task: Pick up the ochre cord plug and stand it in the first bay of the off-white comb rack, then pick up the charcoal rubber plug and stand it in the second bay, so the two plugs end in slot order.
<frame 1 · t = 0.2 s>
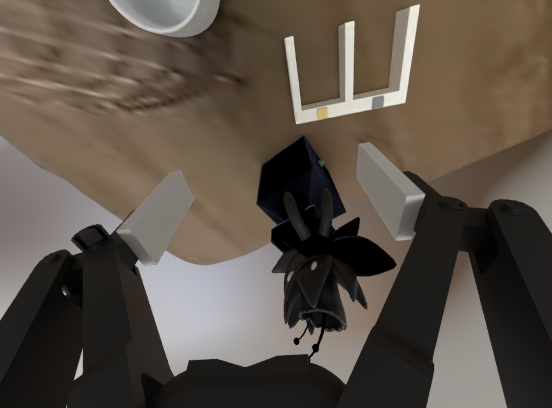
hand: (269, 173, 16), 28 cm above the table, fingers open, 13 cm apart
comb rack: (342, 77, 36), on the table
vase: (296, 166, 46), on the table
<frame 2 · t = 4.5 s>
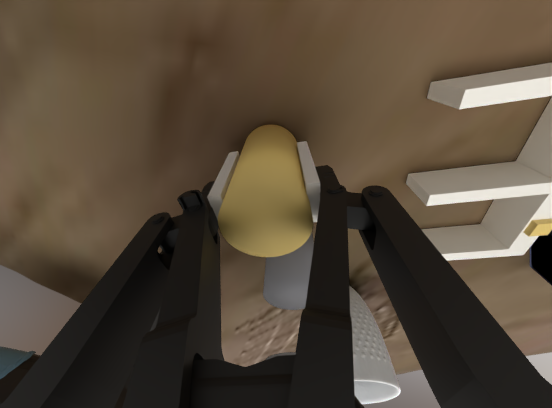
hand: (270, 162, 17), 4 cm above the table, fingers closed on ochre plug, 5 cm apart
ochre plug: (271, 152, 19), point 2 cm above the table, touching gripper
comb rack: (479, 170, 21), on the table
mug: (330, 287, 35), on the table
charcoal plug: (289, 219, 26), on the table
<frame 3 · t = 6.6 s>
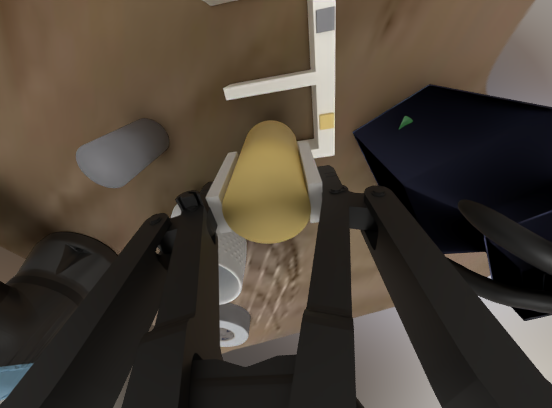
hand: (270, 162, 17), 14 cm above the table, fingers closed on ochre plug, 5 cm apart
ochre plug: (271, 147, 20), point 10 cm above the table, touching gripper
comb rack: (286, 79, 26), on the table
mug: (219, 217, 39), on the table
grey wheel: (223, 315, 60), on the table
vase: (398, 140, 30), on the table
charcoal plug: (150, 136, 30), on the table
when the fingers open (2 cm above the table, at t = 8.9 s): ochre plug stays where it is, on the table.
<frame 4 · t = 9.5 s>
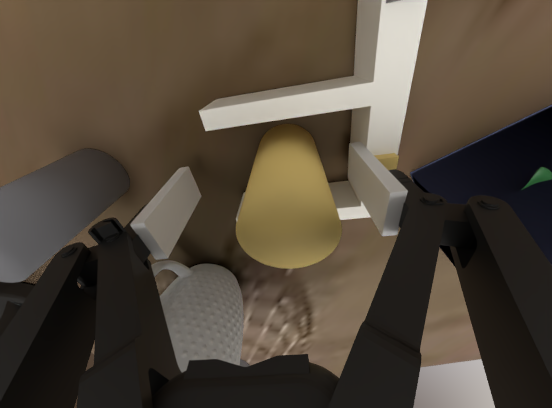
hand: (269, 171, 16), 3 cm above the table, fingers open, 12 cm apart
ochre plug: (286, 153, 18), on the table
comb rack: (310, 92, 15), on the table
mug: (208, 272, 29), on the table
vase: (479, 184, 19), on the table
charcoal plug: (101, 173, 20), on the table
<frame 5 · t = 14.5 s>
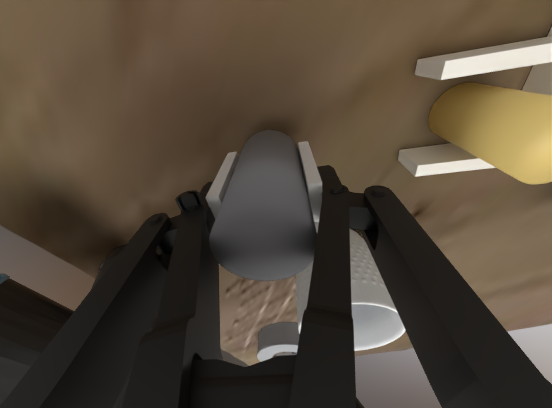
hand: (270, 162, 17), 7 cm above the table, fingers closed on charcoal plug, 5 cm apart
ochre plug: (455, 111, 21), on the table
comb rack: (502, 52, 18), on the table
mug: (327, 233, 32), on the table
grey wheel: (289, 334, 53), on the table
charcoal plug: (270, 159, 18), point 6 cm above the table, touching gripper
when the fingers open (2 cm above the table, at t = 18.7 s): charcoal plug drops 1 cm, resting in comb rack.
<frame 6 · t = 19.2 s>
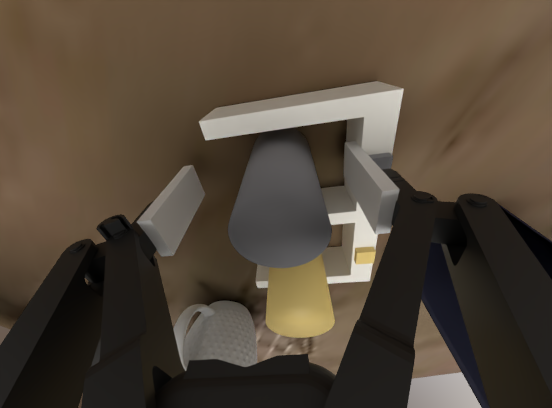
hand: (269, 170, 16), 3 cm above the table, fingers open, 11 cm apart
ochre plug: (294, 229, 23), on the table
comb rack: (312, 194, 21), on the table
mug: (225, 306, 34), on the table
vase: (444, 249, 25), on the table
charcoal plug: (281, 154, 18), resting in comb rack
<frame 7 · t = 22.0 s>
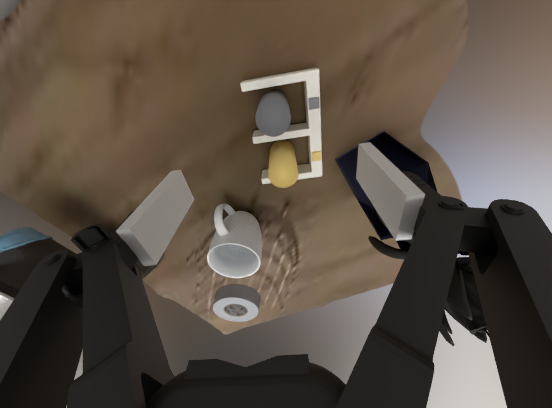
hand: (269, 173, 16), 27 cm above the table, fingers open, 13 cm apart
ochre plug: (282, 151, 43), on the table
comb rack: (290, 128, 40), on the table
mug: (240, 217, 53), on the table
grey wheel: (238, 296, 74), on the table
vase: (366, 164, 44), on the table
charcoal plug: (274, 105, 37), resting in comb rack
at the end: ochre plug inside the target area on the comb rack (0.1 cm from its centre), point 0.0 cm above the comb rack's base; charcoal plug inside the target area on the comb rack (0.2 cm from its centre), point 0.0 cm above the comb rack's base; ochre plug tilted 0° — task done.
